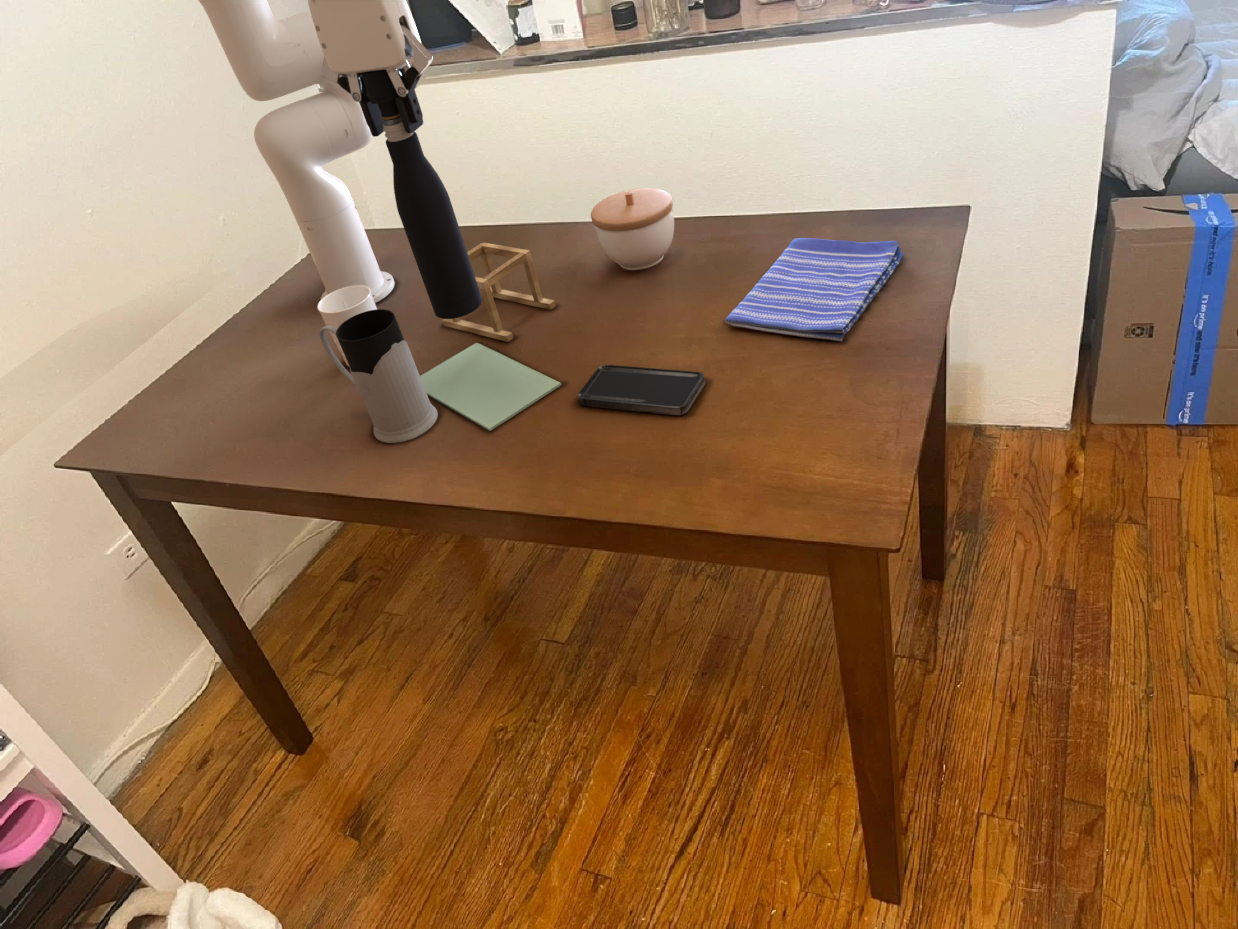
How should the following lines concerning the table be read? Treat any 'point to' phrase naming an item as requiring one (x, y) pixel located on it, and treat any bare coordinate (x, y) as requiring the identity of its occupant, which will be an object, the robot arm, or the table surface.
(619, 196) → the lidded bowl
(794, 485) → the table surface
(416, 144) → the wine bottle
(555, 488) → the table surface
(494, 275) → the bottle stand
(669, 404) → the phone
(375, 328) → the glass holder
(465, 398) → the mat
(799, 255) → the dish towel
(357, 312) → the white cup
